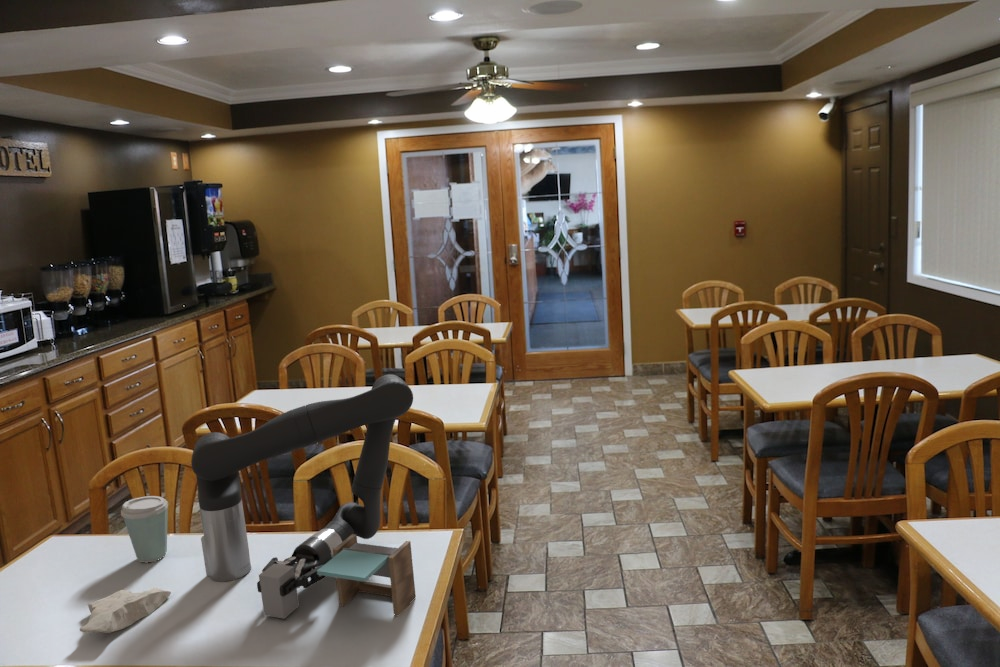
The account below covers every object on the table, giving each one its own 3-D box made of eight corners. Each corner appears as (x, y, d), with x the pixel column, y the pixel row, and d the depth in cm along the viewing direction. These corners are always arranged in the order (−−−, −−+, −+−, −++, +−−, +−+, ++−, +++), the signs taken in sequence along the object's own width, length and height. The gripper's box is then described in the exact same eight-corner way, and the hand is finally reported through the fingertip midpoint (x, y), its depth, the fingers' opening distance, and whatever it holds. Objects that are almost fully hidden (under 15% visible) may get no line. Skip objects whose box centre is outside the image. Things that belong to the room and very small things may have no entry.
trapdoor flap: (358, 565, 170) (355, 539, 169) (402, 571, 166) (400, 545, 165) (320, 598, 157) (316, 570, 156) (367, 606, 153) (364, 577, 152)
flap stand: (358, 588, 173) (352, 534, 171) (415, 597, 168) (410, 541, 165) (339, 606, 167) (332, 549, 164) (398, 616, 161) (392, 557, 159)
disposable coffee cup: (160, 544, 203) (151, 489, 200) (185, 553, 196) (176, 496, 194) (120, 561, 194) (111, 504, 191) (145, 572, 188) (135, 513, 185)
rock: (48, 644, 161) (104, 647, 155) (44, 622, 160) (100, 624, 155) (130, 597, 180) (182, 599, 175) (126, 578, 180) (178, 579, 175)
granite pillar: (264, 614, 164) (258, 575, 162) (279, 602, 168) (274, 563, 166) (284, 618, 162) (278, 578, 160) (298, 605, 166) (293, 566, 164)
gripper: (290, 532, 178) (239, 568, 163) (344, 539, 173) (297, 578, 158) (293, 562, 180) (244, 601, 165) (347, 571, 175) (301, 612, 159)
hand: (270, 590), depth 161 cm, fingers closed on granite pillar, 5 cm apart
